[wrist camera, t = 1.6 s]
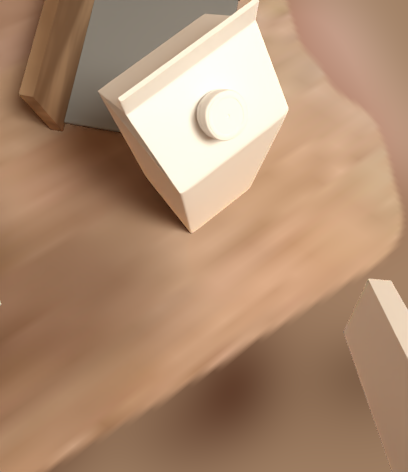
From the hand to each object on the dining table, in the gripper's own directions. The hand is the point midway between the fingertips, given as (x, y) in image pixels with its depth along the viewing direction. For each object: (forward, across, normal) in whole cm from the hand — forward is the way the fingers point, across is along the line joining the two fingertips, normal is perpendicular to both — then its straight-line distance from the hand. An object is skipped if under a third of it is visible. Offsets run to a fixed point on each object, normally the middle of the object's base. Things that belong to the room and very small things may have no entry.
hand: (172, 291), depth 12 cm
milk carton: (+21, 0, -6) cm, 22 cm away
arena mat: (+30, -6, +2) cm, 30 cm away
